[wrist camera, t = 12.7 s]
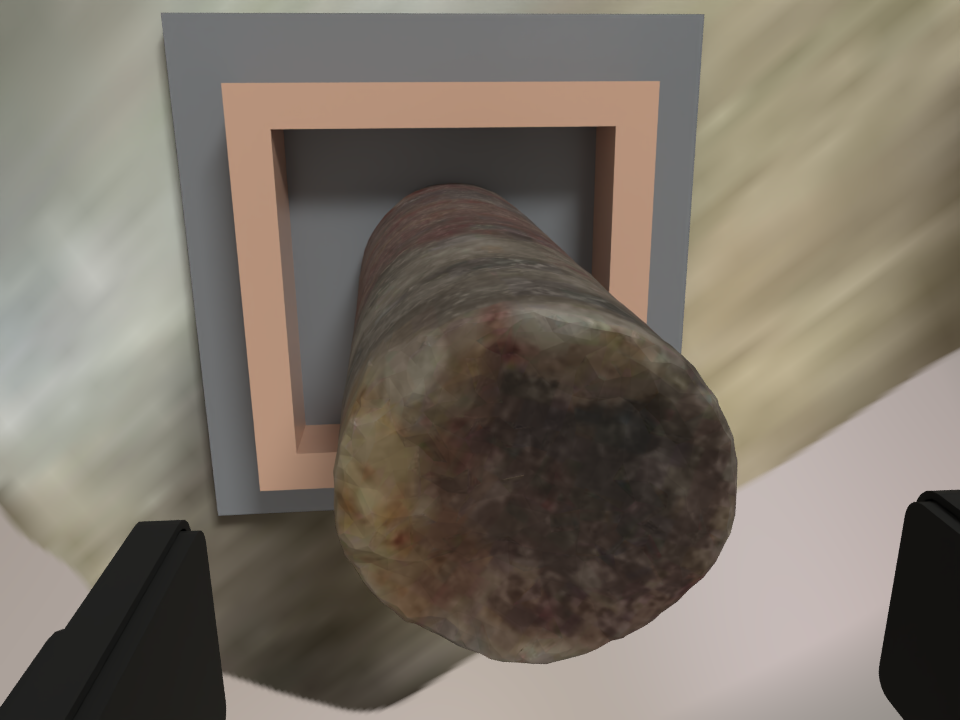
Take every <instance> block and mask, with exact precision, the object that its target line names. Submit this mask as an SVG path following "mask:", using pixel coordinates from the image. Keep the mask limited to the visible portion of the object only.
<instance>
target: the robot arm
mask: <svg viewBox="0 0 960 720" xmlns="http://www.w3.org/2000/svg"><path fill="white" fill-rule="evenodd" d="M879 679H880V683H881V687H882V690H883V692H884V694H885V696H886V697H887V699H888V700H889V702H890V703H891V704H892V705H893V707H894V708H895V709H896V710H897V712H898V713H899V714H900V716H901V717H902V718H903V719H904V720H960V490H942V491H941V490H940V491H925V492H924V493H922V494H921V495H920V496H919V498H918V499H917V502H913V503H911V504H910V505H909V506H908V508H907V510H906V513H905V518H904V524H903V530H902V536H901V542H900V548H899V554H898V559H897V565H896V571H895V577H894V583H893V588H892V594H891V600H890V606H889V612H888V618H887V624H886V630H885V635H884V641H883V647H882V653H881V659H880V666H879ZM0 720H226V700H225V692H224V685H223V676H222V668H221V660H220V652H219V644H218V636H217V628H216V620H215V612H214V603H213V595H212V587H211V579H210V571H209V563H208V555H207V547H206V540H205V536H204V533H203V532H202V531H191V529H190V527H189V524H188V522H187V521H186V520H170V521H144V522H138V523H137V524H136V525H135V527H134V528H133V529H132V531H131V532H130V534H129V535H128V537H127V538H126V540H125V541H124V543H123V544H122V546H121V547H120V548H119V550H118V551H117V553H116V554H115V556H114V557H113V559H112V560H111V562H110V563H109V565H108V566H107V567H106V569H105V570H104V572H103V573H102V575H101V576H100V578H99V579H98V581H97V582H96V584H95V585H94V586H93V588H92V589H91V591H90V592H89V594H88V595H87V597H86V598H85V600H84V601H83V603H82V604H81V606H80V607H79V608H78V610H77V612H76V613H75V614H74V616H73V617H72V619H71V620H70V622H69V623H68V625H67V626H66V627H65V629H62V630H59V631H57V632H55V633H54V634H53V635H52V636H51V637H50V638H49V639H48V640H47V641H46V643H45V644H44V646H43V647H42V649H41V650H40V652H39V653H38V654H37V656H36V657H35V659H34V660H33V661H32V663H31V664H30V666H29V667H28V669H27V670H26V671H25V673H24V674H23V676H22V677H21V678H20V680H19V681H18V683H17V684H16V686H15V687H14V688H13V690H12V691H11V693H10V694H9V696H8V697H7V699H6V700H5V701H4V703H3V704H2V706H1V707H0Z"/></svg>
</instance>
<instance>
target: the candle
mask: <svg viewBox="0 0 960 720" xmlns="http://www.w3.org/2000/svg"><path fill="white" fill-rule="evenodd" d="M333 476H334V514H335V525H336V530H337V533H338V537H339V540H340V543H341V545H342V547H343V551H344V555H345V556H346V558H347V559H348V560H349V561H350V562H351V563H352V564H353V566H354V567H355V569H356V571H357V572H358V574H359V575H360V577H361V579H362V580H363V582H364V583H365V584H366V586H367V587H368V588H369V589H370V591H371V592H372V593H373V594H374V595H375V596H376V597H377V598H378V599H379V600H380V601H381V602H382V603H384V604H385V605H386V606H388V607H389V608H391V609H392V610H393V611H394V612H395V613H396V614H397V615H399V616H400V617H401V618H402V619H403V620H404V621H406V622H410V623H414V624H417V625H419V626H421V627H423V628H425V629H427V630H429V631H431V632H434V633H436V634H438V635H440V636H442V637H444V638H445V639H447V640H449V641H451V642H452V643H454V644H456V645H458V646H460V647H463V648H465V649H468V650H471V651H474V652H477V653H481V654H482V655H484V656H486V657H488V658H490V659H493V660H497V661H502V662H519V663H531V664H548V663H552V662H556V661H560V660H564V659H568V658H571V657H576V656H579V655H583V654H586V653H588V652H591V651H593V650H595V649H598V648H599V647H601V646H603V645H605V644H606V643H608V642H610V641H612V640H616V639H620V638H624V637H625V636H626V635H628V634H630V633H632V632H634V631H636V630H638V629H640V628H642V627H644V626H645V625H647V624H648V623H650V622H651V621H652V620H654V619H655V618H656V617H657V616H658V615H659V614H660V613H661V612H663V611H664V610H666V609H667V608H669V607H670V606H672V605H673V604H674V603H676V602H677V601H678V600H679V599H680V598H681V597H682V596H683V595H684V594H685V593H686V592H687V591H688V590H689V589H690V588H691V587H692V586H694V585H695V584H696V583H697V582H698V581H699V580H701V579H702V578H703V577H704V576H705V575H706V573H707V572H708V571H709V570H710V568H711V567H712V566H713V564H714V563H715V562H716V560H717V558H718V556H719V554H720V552H721V550H722V548H723V546H724V544H725V542H726V540H727V539H728V537H729V535H730V533H731V529H732V525H733V521H734V517H735V508H736V490H737V457H736V452H735V447H734V439H733V435H732V433H731V430H730V428H729V426H728V423H727V421H726V419H725V417H724V414H723V412H722V410H721V408H720V406H719V404H718V400H717V398H716V397H715V395H714V394H713V392H712V391H711V390H710V389H709V388H708V386H707V385H706V384H705V382H704V381H703V379H702V378H701V376H700V375H699V373H698V371H697V370H696V368H695V367H694V366H693V365H692V364H691V363H690V362H689V361H688V360H686V359H685V358H684V357H683V356H682V355H681V354H680V353H679V352H678V351H677V350H676V349H675V348H674V347H673V346H672V345H671V344H669V343H667V342H666V341H664V340H663V339H662V338H661V337H660V336H659V335H657V334H656V333H655V332H654V331H653V330H652V329H651V328H650V327H649V326H648V325H647V324H646V323H645V322H643V321H642V320H641V319H640V318H639V317H638V316H636V315H635V314H634V313H633V312H632V311H630V310H629V309H628V308H627V307H626V306H625V305H623V304H622V303H621V302H619V301H618V300H617V299H616V298H615V297H614V296H612V295H611V294H610V293H609V292H608V291H607V290H606V289H605V288H604V287H603V286H602V285H601V284H600V283H599V282H598V281H597V280H596V279H595V278H594V277H593V276H592V275H591V274H590V273H588V272H587V271H586V270H584V269H583V268H582V267H580V266H579V265H578V264H577V263H576V262H575V261H574V260H573V259H572V258H571V257H570V256H568V255H567V253H566V252H565V251H564V250H562V249H561V248H560V247H559V246H558V245H557V244H556V243H555V242H554V241H552V240H551V239H550V238H549V237H548V236H547V235H546V234H545V233H544V232H543V231H542V230H541V229H540V228H538V227H537V226H536V225H535V224H534V223H533V222H532V221H531V220H530V219H529V218H528V217H527V216H525V215H524V214H523V213H522V212H521V211H519V210H518V209H517V208H516V207H514V206H513V205H512V204H510V203H509V202H508V201H507V200H505V199H504V198H502V197H501V196H499V195H498V194H497V193H495V192H492V191H490V190H487V189H484V188H482V187H479V186H476V185H471V184H463V183H448V184H436V185H432V186H428V187H425V188H423V189H420V190H417V191H415V192H413V193H411V194H409V195H407V196H406V197H404V198H403V199H402V200H401V201H400V202H398V203H397V204H396V205H395V206H394V207H393V208H392V209H391V210H390V211H389V212H388V213H387V214H386V215H385V216H384V217H383V218H382V220H381V221H380V222H379V224H378V225H377V226H376V228H375V229H374V231H373V233H372V234H371V236H370V238H369V240H368V242H367V245H366V247H365V250H364V255H363V260H362V265H361V272H360V277H359V287H358V298H357V309H356V316H355V324H354V332H353V338H352V343H351V352H350V357H349V366H348V372H347V379H346V385H345V390H344V395H343V400H342V409H341V418H340V430H339V439H338V448H337V454H336V459H335V464H334V469H333Z"/></svg>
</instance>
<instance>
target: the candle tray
mask: <svg viewBox="0 0 960 720" xmlns="http://www.w3.org/2000/svg"><path fill="white" fill-rule="evenodd" d="M161 18H162V27H163V36H164V45H165V53H166V62H167V71H168V80H169V89H170V97H171V106H172V115H173V124H174V132H175V141H176V150H177V159H178V168H179V176H180V185H181V194H182V203H183V212H184V220H185V229H186V238H187V247H188V255H189V264H190V273H191V282H192V291H193V299H194V308H195V317H196V326H197V334H198V343H199V352H200V361H201V370H202V378H203V387H204V396H205V405H206V413H207V422H208V431H209V440H210V449H211V457H212V466H213V475H214V484H215V492H216V501H217V510H218V516H220V515H241V514H262V513H282V512H303V511H324V510H334V476H333V469H334V464H335V459H336V454H337V448H338V439H339V430H340V418H341V409H342V400H343V395H344V390H345V385H346V379H347V372H348V366H349V357H350V352H351V343H352V338H353V332H354V324H355V316H356V309H357V298H358V287H359V277H360V272H361V265H362V260H363V255H364V250H365V247H366V245H367V242H368V240H369V238H370V236H371V234H372V233H373V231H374V229H375V228H376V226H377V225H378V224H379V222H380V221H381V220H382V218H383V217H384V216H385V215H386V214H387V213H388V212H389V211H390V210H391V209H392V208H393V207H394V206H395V205H396V204H397V203H398V202H400V201H401V200H402V199H403V198H404V197H406V196H407V195H409V194H411V193H413V192H415V191H417V190H420V189H423V188H425V187H428V186H432V185H436V184H448V183H463V184H471V185H476V186H479V187H482V188H484V189H487V190H490V191H492V192H495V193H497V194H498V195H499V196H501V197H502V198H504V199H505V200H507V201H508V202H509V203H510V204H512V205H513V206H514V207H516V208H517V209H518V210H519V211H521V212H522V213H523V214H524V215H525V216H527V217H528V218H529V219H530V220H531V221H532V222H533V223H534V224H535V225H536V226H537V227H538V228H540V229H541V230H542V231H543V232H544V233H545V234H546V235H547V236H548V237H549V238H550V239H551V240H552V241H554V242H555V243H556V244H557V245H558V246H559V247H560V248H561V249H562V250H564V251H565V252H566V253H567V255H568V256H570V257H571V258H572V259H573V260H574V261H575V262H576V263H577V264H578V265H579V266H580V267H582V268H583V269H584V270H586V271H587V272H588V273H590V274H591V275H592V276H593V277H594V278H595V279H596V280H597V281H598V282H599V283H600V284H601V285H602V286H603V287H604V288H605V289H606V290H607V291H608V292H609V293H610V294H611V295H612V296H614V297H615V298H616V299H617V300H618V301H619V302H621V303H622V304H623V305H625V306H626V307H627V308H628V309H629V310H630V311H632V312H633V313H634V314H635V315H636V316H638V317H639V318H640V319H641V320H642V321H643V322H645V323H646V324H647V325H648V326H649V327H650V328H651V329H652V330H653V331H654V332H655V333H656V334H657V335H659V336H660V337H661V338H662V339H663V340H664V341H666V342H667V343H669V344H671V345H672V346H673V347H674V348H675V349H676V350H677V351H678V352H679V353H680V354H681V347H682V333H683V318H684V303H685V289H686V274H687V260H688V245H689V230H690V216H691V201H692V186H693V172H694V157H695V142H696V128H697V113H698V98H699V84H700V69H701V54H702V40H703V25H704V14H409V13H161Z"/></svg>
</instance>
